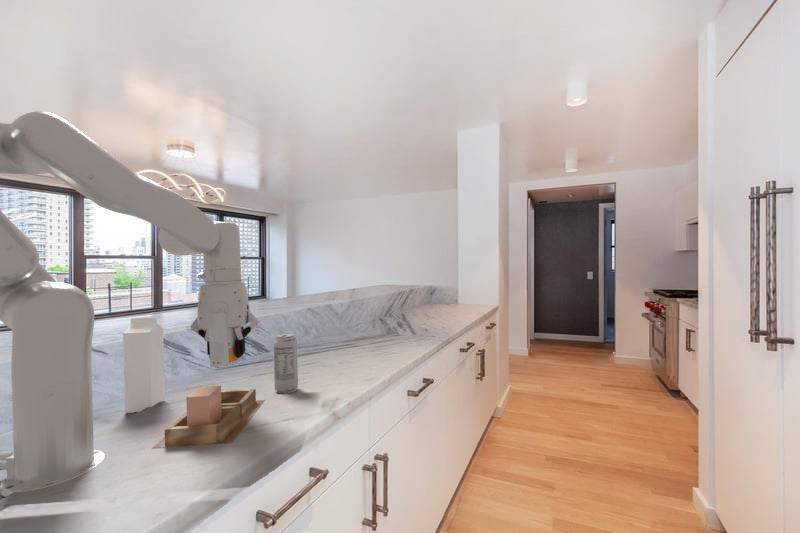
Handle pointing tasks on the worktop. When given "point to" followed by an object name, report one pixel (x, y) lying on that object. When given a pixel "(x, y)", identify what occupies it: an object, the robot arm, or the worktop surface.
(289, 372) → the energy drink can
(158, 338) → the milk
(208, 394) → the terracotta block
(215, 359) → the skincare box
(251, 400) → the socket board
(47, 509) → the worktop surface
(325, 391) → the worktop surface
